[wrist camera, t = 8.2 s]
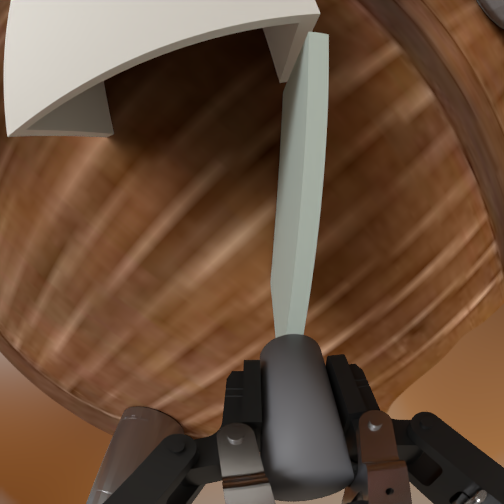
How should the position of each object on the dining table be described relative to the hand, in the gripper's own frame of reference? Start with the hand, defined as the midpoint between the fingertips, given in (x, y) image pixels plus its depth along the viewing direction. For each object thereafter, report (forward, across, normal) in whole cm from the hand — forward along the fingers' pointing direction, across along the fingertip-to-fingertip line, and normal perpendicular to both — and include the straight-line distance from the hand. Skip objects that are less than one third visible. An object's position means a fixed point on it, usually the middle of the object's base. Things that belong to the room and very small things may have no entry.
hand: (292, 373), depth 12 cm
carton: (+13, +8, -21) cm, 26 cm away
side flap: (+13, -1, -6) cm, 14 cm away
